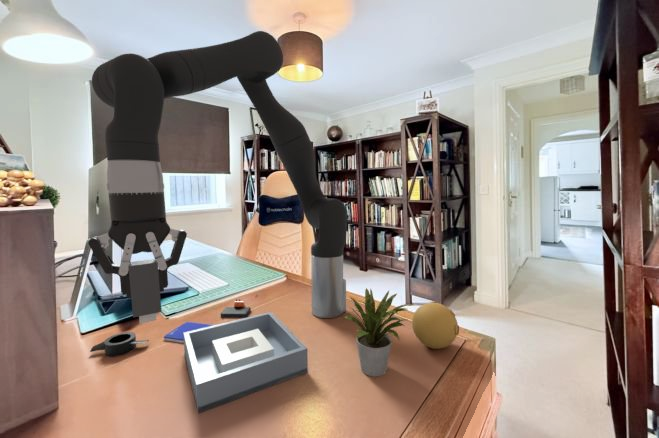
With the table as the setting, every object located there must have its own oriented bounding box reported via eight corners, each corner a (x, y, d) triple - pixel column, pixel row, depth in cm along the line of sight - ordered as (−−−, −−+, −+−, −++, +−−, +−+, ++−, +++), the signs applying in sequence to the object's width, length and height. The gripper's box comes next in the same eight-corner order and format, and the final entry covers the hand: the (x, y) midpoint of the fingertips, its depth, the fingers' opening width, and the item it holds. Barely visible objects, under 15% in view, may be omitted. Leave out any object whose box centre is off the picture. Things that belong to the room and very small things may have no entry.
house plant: (395, 409, 48) (397, 314, 46) (324, 380, 55) (324, 297, 54) (418, 364, 60) (421, 288, 58) (358, 346, 68) (358, 277, 66)
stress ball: (424, 362, 63) (465, 341, 59) (398, 320, 66) (435, 297, 62) (434, 348, 71) (470, 329, 67) (410, 311, 75) (443, 291, 71)
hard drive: (163, 335, 71) (208, 342, 68) (187, 320, 78) (228, 326, 75) (163, 342, 71) (208, 349, 68) (187, 326, 79) (228, 331, 76)
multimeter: (232, 295, 101) (231, 285, 101) (265, 296, 100) (265, 286, 99) (204, 318, 83) (204, 307, 83) (245, 320, 82) (245, 308, 82)
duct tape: (121, 338, 72) (120, 327, 71) (152, 345, 69) (152, 333, 68) (87, 356, 64) (85, 343, 64) (121, 364, 61) (119, 351, 61)
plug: (161, 313, 52) (157, 258, 51) (162, 320, 49) (157, 262, 48) (134, 319, 50) (129, 262, 49) (133, 326, 47) (128, 266, 46)
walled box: (271, 330, 75) (270, 311, 74) (307, 372, 58) (307, 348, 57) (184, 354, 64) (183, 332, 64) (198, 413, 48) (196, 384, 47)
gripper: (183, 189, 54) (189, 279, 56) (84, 191, 47) (95, 295, 49) (188, 189, 48) (195, 291, 50) (74, 191, 40) (87, 311, 42)
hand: (145, 292), depth 49 cm, fingers closed on plug, 4 cm apart
